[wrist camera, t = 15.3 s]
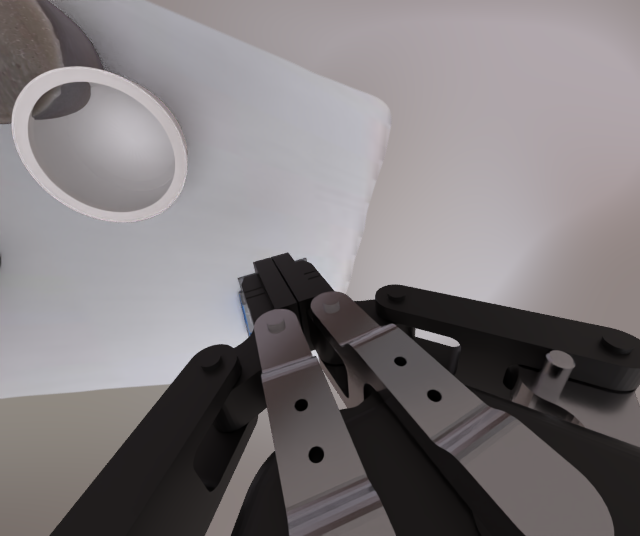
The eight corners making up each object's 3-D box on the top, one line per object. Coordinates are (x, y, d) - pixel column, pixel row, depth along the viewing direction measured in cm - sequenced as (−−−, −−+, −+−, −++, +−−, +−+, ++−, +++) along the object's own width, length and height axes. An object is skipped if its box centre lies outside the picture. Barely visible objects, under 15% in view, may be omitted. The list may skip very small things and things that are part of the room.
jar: (205, 159, 37) (214, 184, 25) (130, 199, 36) (100, 246, 23) (144, 64, 31) (117, 34, 18) (52, 109, 30) (-42, 109, 17)
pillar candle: (-27, 92, 27) (-194, 82, 15) (-30, -35, 24) (-244, -176, 12) (101, 133, 32) (52, 150, 20) (112, 32, 29) (63, -20, 17)
